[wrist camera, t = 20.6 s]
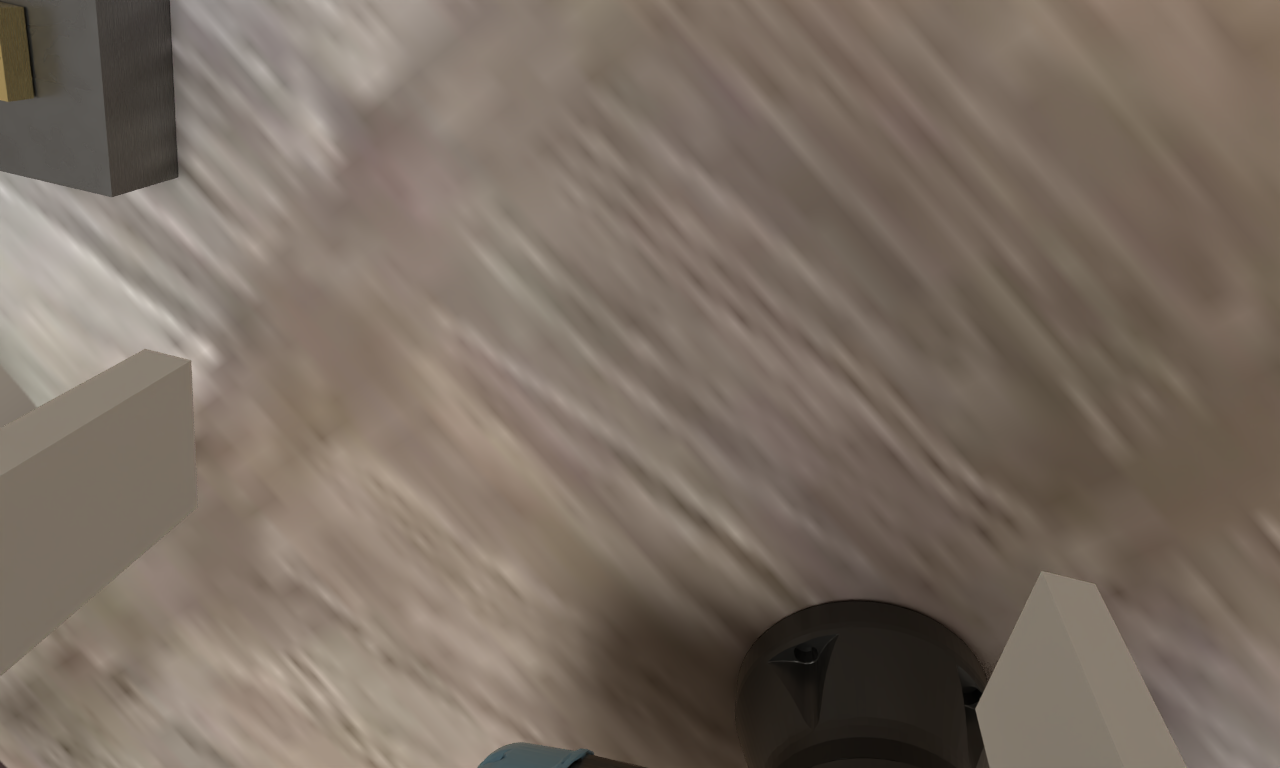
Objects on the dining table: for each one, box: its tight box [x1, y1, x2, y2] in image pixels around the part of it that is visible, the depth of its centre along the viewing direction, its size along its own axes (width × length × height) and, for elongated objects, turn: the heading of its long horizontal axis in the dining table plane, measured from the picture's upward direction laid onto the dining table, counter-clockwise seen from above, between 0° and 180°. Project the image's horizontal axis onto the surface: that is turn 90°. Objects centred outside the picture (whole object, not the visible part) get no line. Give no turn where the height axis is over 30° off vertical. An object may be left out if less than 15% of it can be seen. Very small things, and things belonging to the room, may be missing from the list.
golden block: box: [0, 2, 34, 102], centre depth 42 cm, size 4×5×6 cm
